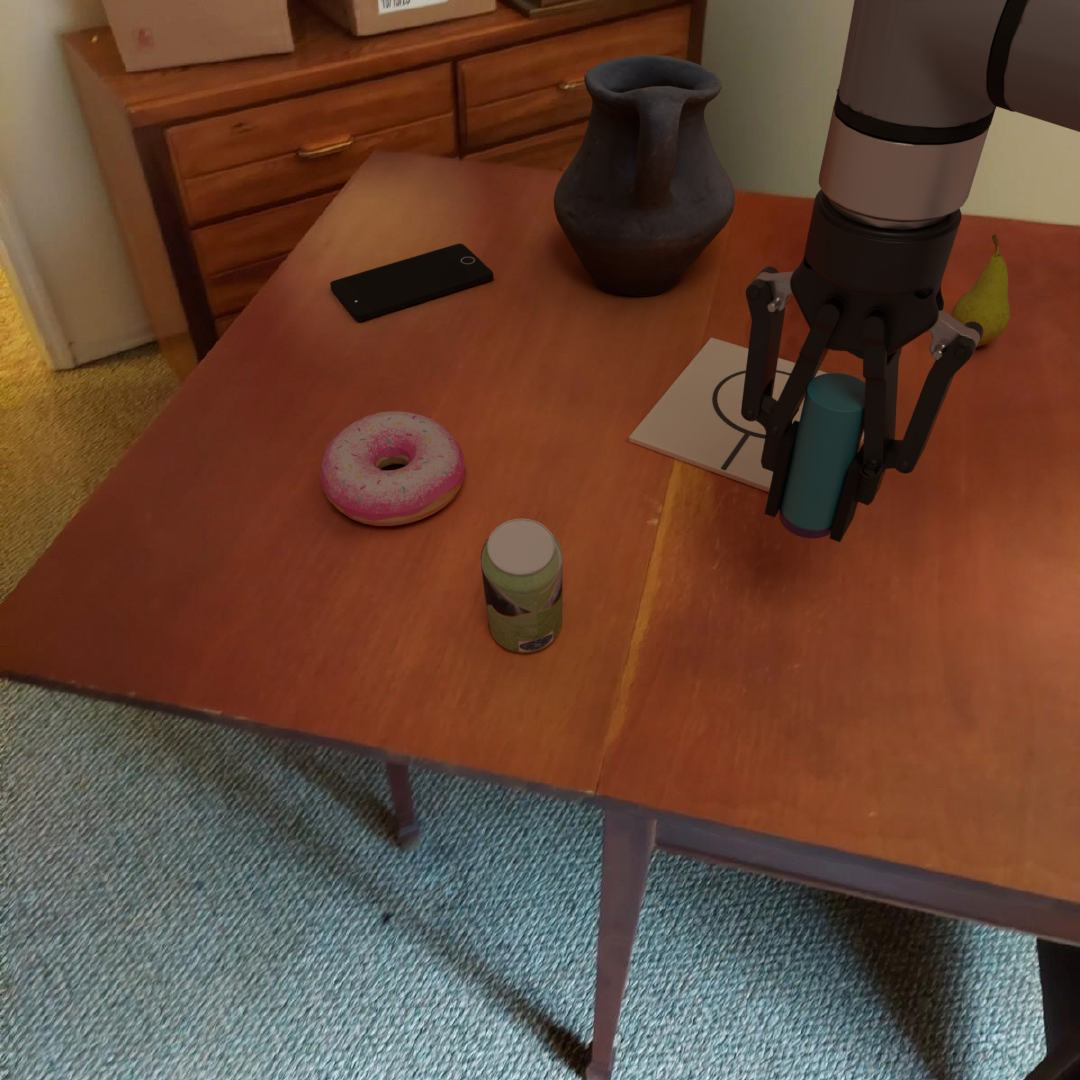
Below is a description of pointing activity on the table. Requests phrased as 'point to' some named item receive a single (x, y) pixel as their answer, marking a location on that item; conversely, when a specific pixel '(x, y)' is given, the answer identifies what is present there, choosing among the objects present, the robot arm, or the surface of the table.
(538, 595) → the beverage can
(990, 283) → the fruit
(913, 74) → the robot arm
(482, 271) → the cell phone
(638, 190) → the pitcher
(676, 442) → the drawing sheet
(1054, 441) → the table surface
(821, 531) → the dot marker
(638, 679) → the table surface
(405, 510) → the donut
